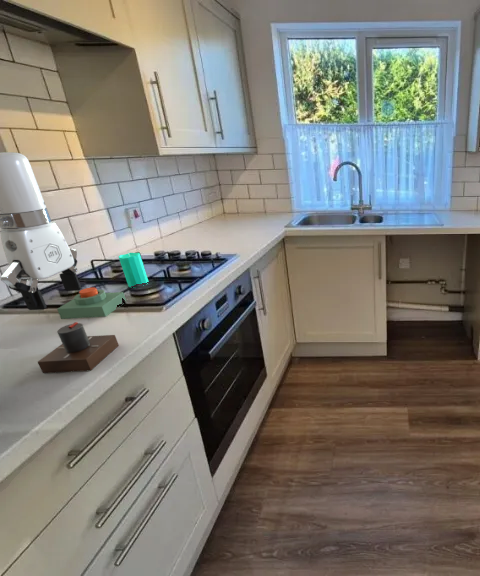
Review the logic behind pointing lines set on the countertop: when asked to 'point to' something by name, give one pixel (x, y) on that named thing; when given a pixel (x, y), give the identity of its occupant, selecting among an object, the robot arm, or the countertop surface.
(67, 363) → the brown dial base
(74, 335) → the dial
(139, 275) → the candle
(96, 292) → the orange push button
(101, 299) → the green button box
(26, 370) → the countertop surface
